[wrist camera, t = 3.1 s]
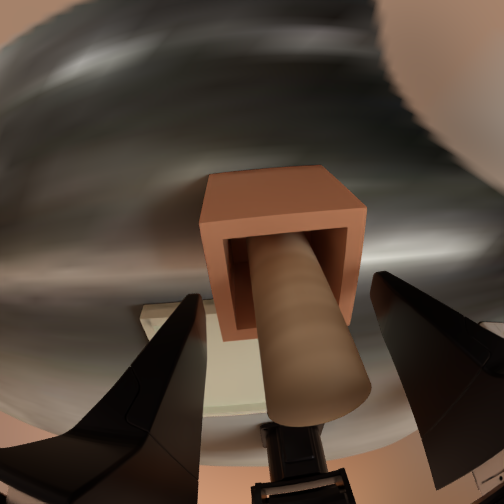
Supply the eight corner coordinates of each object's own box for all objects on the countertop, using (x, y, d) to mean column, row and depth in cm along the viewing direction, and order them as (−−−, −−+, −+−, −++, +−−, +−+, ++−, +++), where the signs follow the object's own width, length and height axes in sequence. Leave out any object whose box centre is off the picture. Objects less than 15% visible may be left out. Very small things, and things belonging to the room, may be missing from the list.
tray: (294, 396, 22) (296, 408, 21) (190, 405, 22) (189, 416, 21) (299, 289, 16) (304, 303, 15) (143, 304, 16) (139, 318, 15)
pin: (296, 243, 14) (359, 415, 6) (246, 249, 14) (269, 432, 6) (295, 197, 13) (383, 364, 5) (241, 202, 13) (264, 385, 5)
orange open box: (318, 257, 15) (349, 325, 11) (223, 268, 15) (222, 341, 11) (320, 164, 13) (367, 207, 8) (209, 174, 12) (198, 222, 8)
